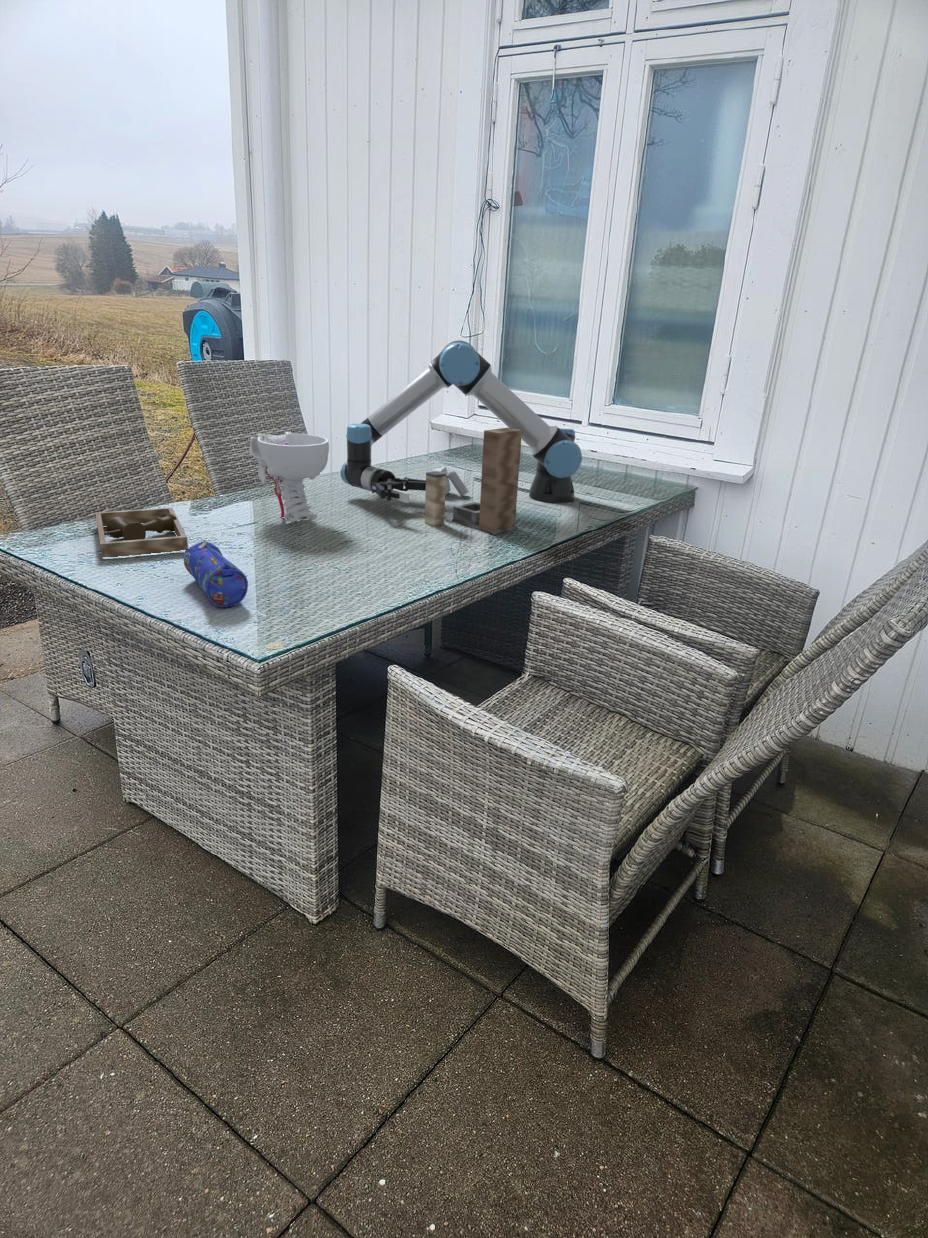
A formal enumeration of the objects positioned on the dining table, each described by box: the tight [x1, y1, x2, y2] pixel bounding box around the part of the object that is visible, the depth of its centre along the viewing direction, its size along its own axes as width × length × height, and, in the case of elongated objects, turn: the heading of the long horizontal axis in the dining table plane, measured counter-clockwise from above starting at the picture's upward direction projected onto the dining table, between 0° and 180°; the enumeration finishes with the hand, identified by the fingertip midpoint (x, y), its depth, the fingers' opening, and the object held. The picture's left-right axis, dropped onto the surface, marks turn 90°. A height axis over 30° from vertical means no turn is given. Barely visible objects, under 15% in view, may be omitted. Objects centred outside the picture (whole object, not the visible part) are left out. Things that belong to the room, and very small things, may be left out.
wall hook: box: [431, 466, 469, 497], centre depth 257 cm, size 8×10×10 cm
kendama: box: [104, 513, 178, 541], centre depth 199 cm, size 6×10×20 cm
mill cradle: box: [94, 506, 189, 557], centre depth 199 cm, size 19×29×4 cm, turn 26°
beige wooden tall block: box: [424, 470, 446, 527], centre depth 223 cm, size 4×4×15 cm
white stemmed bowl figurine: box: [248, 431, 330, 523], centre depth 220 cm, size 25×19×23 cm
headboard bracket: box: [451, 427, 522, 536], centre depth 221 cm, size 10×17×28 cm, turn 46°
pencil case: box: [182, 539, 249, 608], centre depth 166 cm, size 22×9×10 cm, turn 31°
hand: (425, 494), depth 225 cm, fingers open, 13 cm apart
